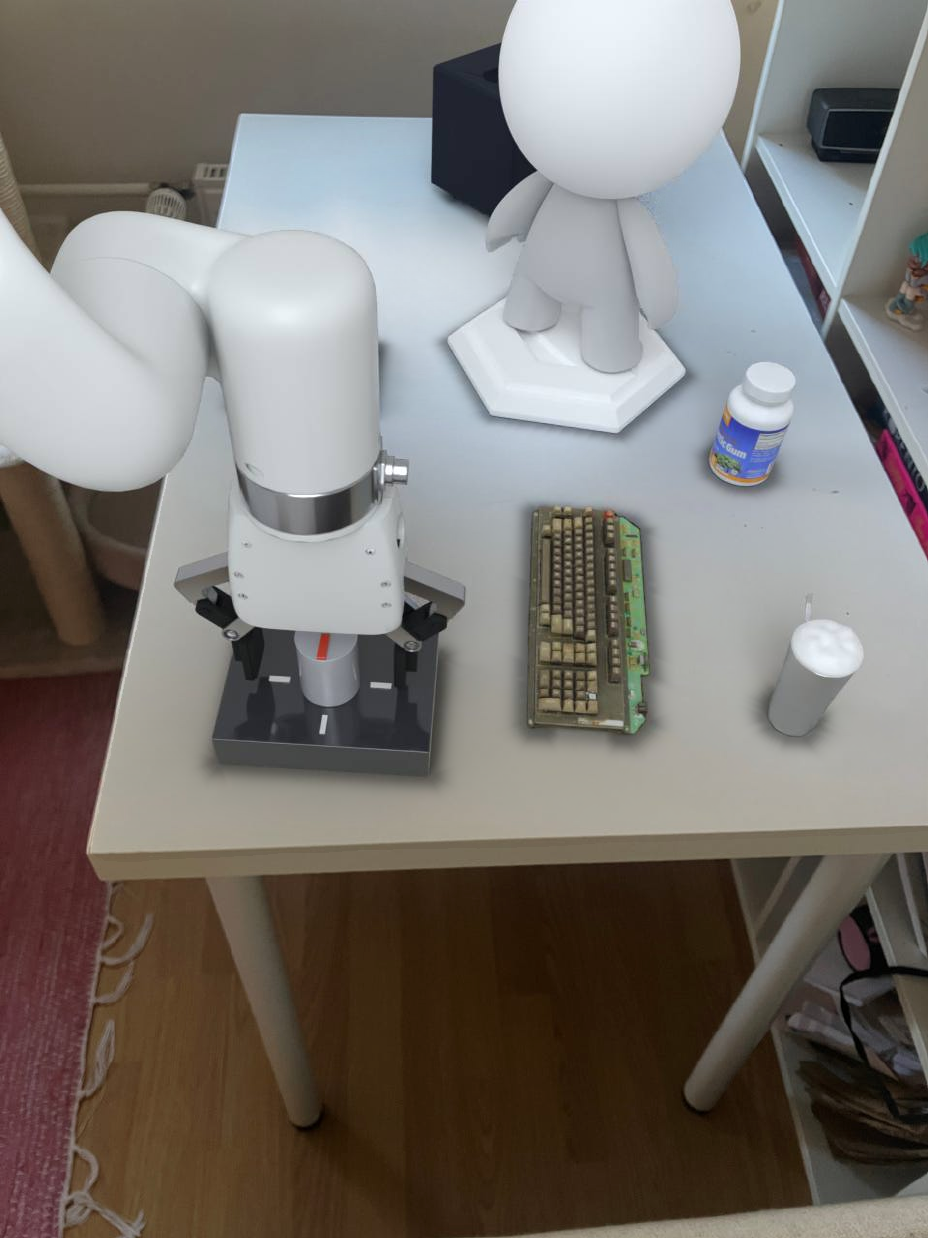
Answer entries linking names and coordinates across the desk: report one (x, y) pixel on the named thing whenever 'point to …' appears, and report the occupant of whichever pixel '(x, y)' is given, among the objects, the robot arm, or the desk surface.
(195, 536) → the desk surface
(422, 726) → the panel
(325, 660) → the hob knob
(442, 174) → the speaker
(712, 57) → the white cartoon figure
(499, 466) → the desk surface
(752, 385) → the pill bottle
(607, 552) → the keyboard
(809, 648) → the milkshake
